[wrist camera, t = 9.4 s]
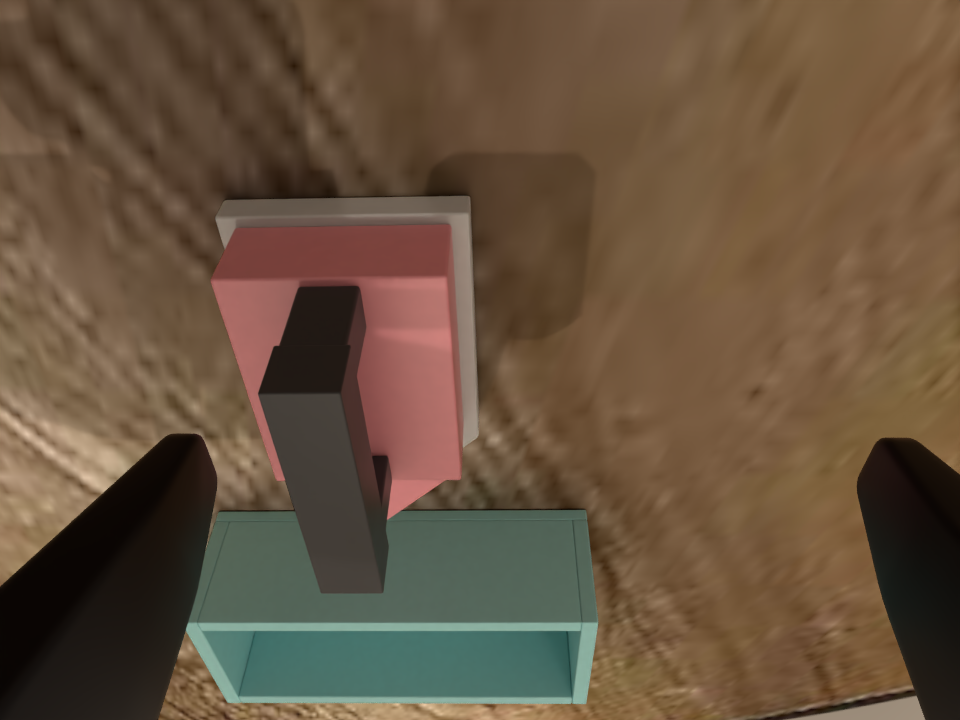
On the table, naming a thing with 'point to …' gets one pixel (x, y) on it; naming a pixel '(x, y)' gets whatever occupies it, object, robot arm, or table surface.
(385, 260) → the iron
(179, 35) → the table surface
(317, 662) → the teal open box
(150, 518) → the robot arm
